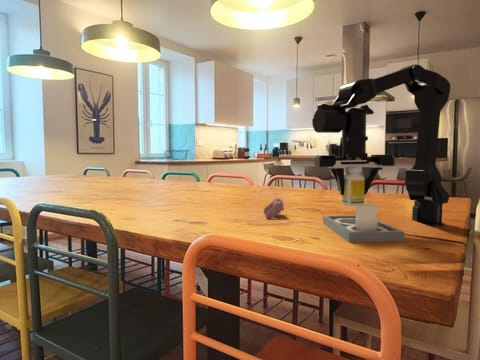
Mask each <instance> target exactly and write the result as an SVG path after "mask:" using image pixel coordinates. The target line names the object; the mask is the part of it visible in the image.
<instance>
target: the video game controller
mask: <svg viewBox="0 0 480 360" xmlns="http://www.w3.org/2000/svg"><path fill="white" fill-rule="evenodd" d="M284 206H285V204H284V201H283V199H282V198H279V197H275V198H274V199H273V200H272V201H271V202H270V203H269V204H268V205H266V206H265V207H264V209H263V214H265V218H266V219H268V220H269V219H273V218H278V216H279V215H280V214H281V212H283V211H284V210H285V207H284Z"/></svg>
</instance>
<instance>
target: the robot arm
mask: <svg viewBox="0 0 480 360" xmlns="http://www.w3.org/2000/svg"><path fill="white" fill-rule="evenodd" d="M401 85H405V88H406V90H407V92H408V93H410V94H411V95H413V97H414V98H413V99H414V100H413V101H414V104H415V106H416V108H417V110H418V112H419V113H418V114H419V115H418V125H417V127H418V128H417V137H416V139H417V140H416V150H415V151H416V152H415V161H414V165H413V166H412V167H411V168H410V169H406V170H405V181H404V184H403V185H405V190H406V191H407V194H408V197H409V198H408V199H409V200H410V201H414V202H413V203H414V204H413V206H412V209H411V210H412V215H411V217H412V218H411V221H414V222H416V223H420V224H422V225H425V226H446V223H445V222H443V205H444V204H448V203H449V201H450V194H449V193H448V192H447V190H446V189H445V187H444V186H443V184H442V175H441V173H440V171H439V169H438V168H437V165H436V163H437V154H438V153H437V152H438V142H439V141H438V139H439V130H440V120H441V111H442V110H443V108H444V107H445V106H446V104H447V102H448V101H449V97H450V91H451V83H450V82H449V80H448V79H447V78H446V77H444V76H442V75H441V74H440V73H438V72H435V71H433V70H430V69H426V68H424V67H423V66H421V65H420V64H417V63H415V64H411V65H407V66H404V67H401V68H400V69H398V70H396V71H393V72H389V73H387V74H384V75H382V76H378V77H375V78H363V79H358V80H355V81H352V82H348V83H345V84H343V85H341V86H340V87H339V90H338V95H336V98H335V99H334V100H333V103H332V104H328V103H319V104H317V109H316V110H315V112H314V114H313V118H312V128H313V130H314V132H316V133H319V134H321V133H323V134H324V133H325V134H326V133H328V134H329V133H330V134H332V133H333V134H336V133H337V134H338V133H340V132H341V137H340V140H339V141H340V143H339V145H338V144H337V143H330V144H329V145H328V155H324V154H323V155H316V156H315V157H314V160H313V163H314V164H313V165H314V167H317V168H325V170H328V171H330V172H331V173H332V176H333V178H334V179H335V182H336V185H337V189H338V190H339V191H338V192H339V195H341V196H342V195H343V194H344V175H345V168H344V167H342V165H364V166H361V167H362V172H363V173H362V174H363V176H364V178H365V188H364V196H366V195H367V193H368V191H369V189H370V187H371V184H372V182H373V180H374V178H375V177H376V176H377V173H379V171H381V170H383V167H395V166H396V159H395V156H394V155H393V154H371V155H370V156H368V153H367V152H366V151H367V150H366V149H367V141H369V136H368V135H367V116H368V115H374V113H375V112H374V110H373V109H372V108H370V107H369V105H368V104H366V103H368V102H369V101H371V100H372V99H375V98H376V97H377V95H379V94H381V93H383V92H384V91H387V90H390V89H394V88H396V87H398V86H401ZM363 104H364V105H363ZM359 105H361V106H359ZM357 106H359V107H357ZM347 109H348V110H347ZM357 158H358V159H357Z"/></svg>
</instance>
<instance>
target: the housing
mask: <svg viewBox="0 0 480 360" xmlns="http://www.w3.org/2000/svg"><path fill="white" fill-rule="evenodd" d="M322 224H323V225H325V226H326V227H327V228H328V229H330V230H331V231H332V232H334V233H335V234H337V235H338V236H340V237H341V238H342V239H343V240H345V241H347V242H348V243H373V242H374V243H376V242H377V243H381V242H384V243H386V242H390V243H391V242H405V231H403V230H401V229H399V228H397V227H394V226H392V225H389V224H387V223H386V222H383V221H381V220H379V219H377V231H356V214H355V215H354V214H353V215H347V214H346V215H323V216H322Z"/></svg>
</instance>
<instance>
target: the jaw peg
mask: <svg viewBox="0 0 480 360" xmlns="http://www.w3.org/2000/svg"><path fill="white" fill-rule="evenodd" d="M378 206H379V205H377V204H374V203H373V204H372V203H364V204H356V206H355V215H356V231H377V220H378V208H379V207H378Z"/></svg>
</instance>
